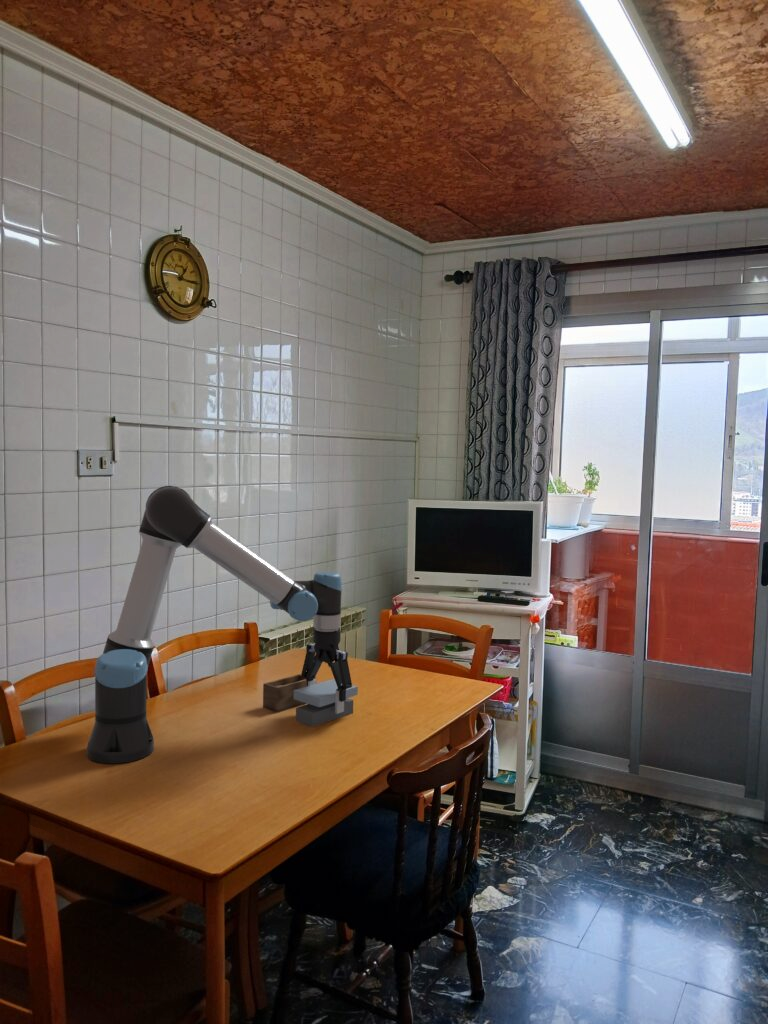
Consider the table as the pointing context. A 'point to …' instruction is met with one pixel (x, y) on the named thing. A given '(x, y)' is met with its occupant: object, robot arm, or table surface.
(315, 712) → the block
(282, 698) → the box
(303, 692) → the lid
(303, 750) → the table surface
